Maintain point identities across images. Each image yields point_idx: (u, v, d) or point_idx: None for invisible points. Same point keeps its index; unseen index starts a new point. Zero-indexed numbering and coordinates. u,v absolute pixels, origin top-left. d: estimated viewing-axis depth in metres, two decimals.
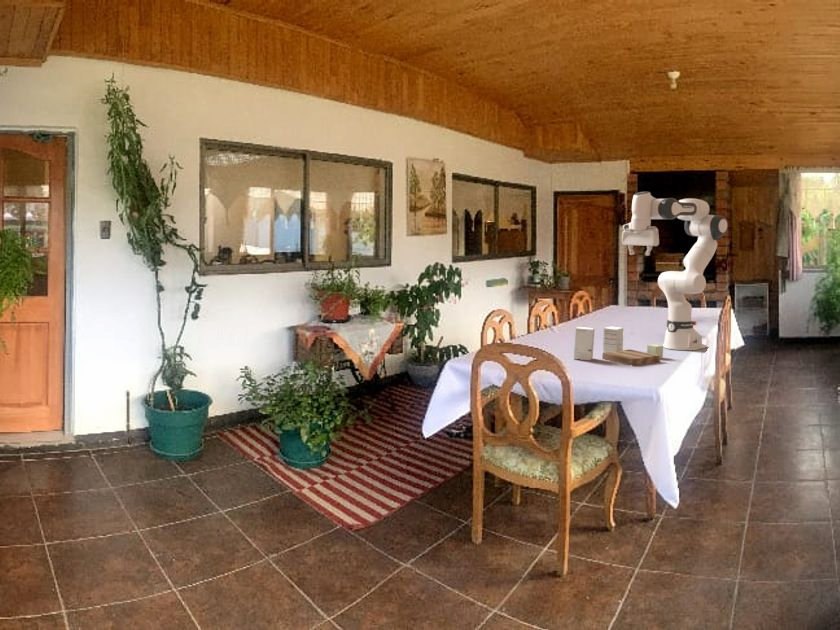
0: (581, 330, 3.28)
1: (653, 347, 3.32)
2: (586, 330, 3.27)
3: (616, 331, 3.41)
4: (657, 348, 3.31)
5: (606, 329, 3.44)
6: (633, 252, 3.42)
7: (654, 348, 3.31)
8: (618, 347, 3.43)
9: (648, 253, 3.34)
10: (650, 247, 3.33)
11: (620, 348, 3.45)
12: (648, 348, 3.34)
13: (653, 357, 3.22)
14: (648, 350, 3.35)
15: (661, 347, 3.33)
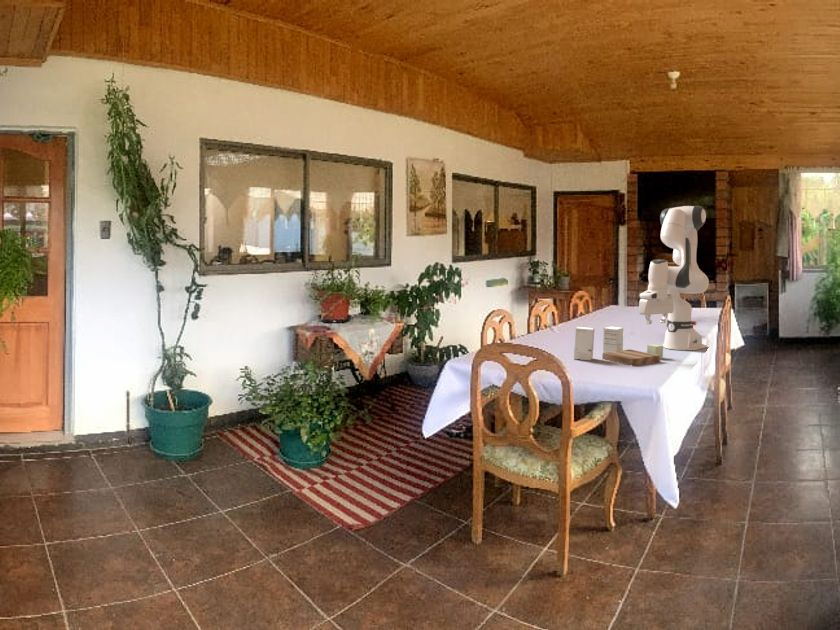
0: (581, 330, 3.28)
1: (653, 347, 3.32)
2: (586, 330, 3.27)
3: (616, 331, 3.41)
4: (657, 348, 3.31)
5: (606, 329, 3.44)
6: None
7: (654, 348, 3.31)
8: (618, 347, 3.43)
9: None
10: None
11: (620, 348, 3.45)
12: (648, 348, 3.34)
13: (653, 357, 3.22)
14: (648, 350, 3.35)
15: (661, 347, 3.33)
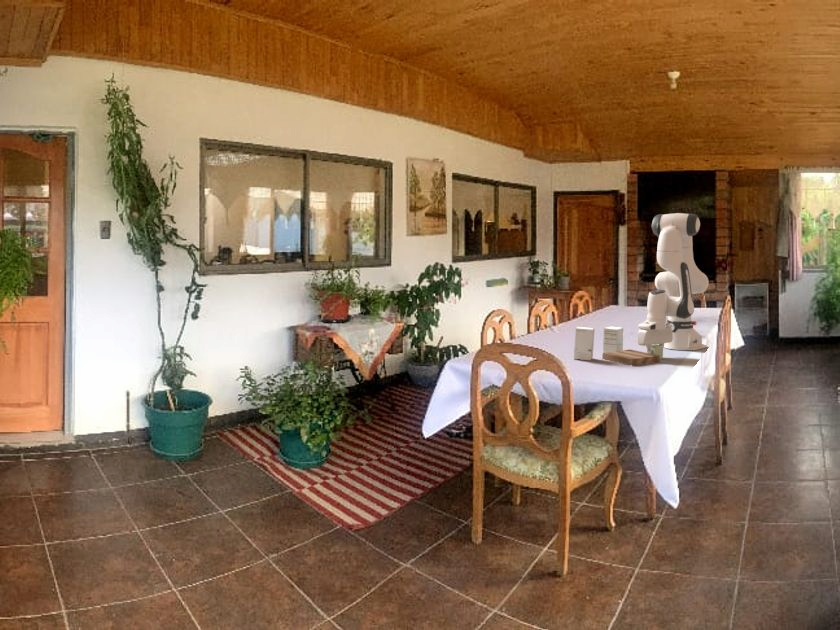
0: (581, 330, 3.28)
1: (653, 347, 3.32)
2: (586, 330, 3.27)
3: (616, 331, 3.41)
4: (657, 348, 3.31)
5: (606, 329, 3.44)
6: None
7: (654, 348, 3.31)
8: (618, 347, 3.43)
9: None
10: None
11: (620, 348, 3.45)
12: None
13: (653, 357, 3.22)
14: None
15: (661, 347, 3.33)
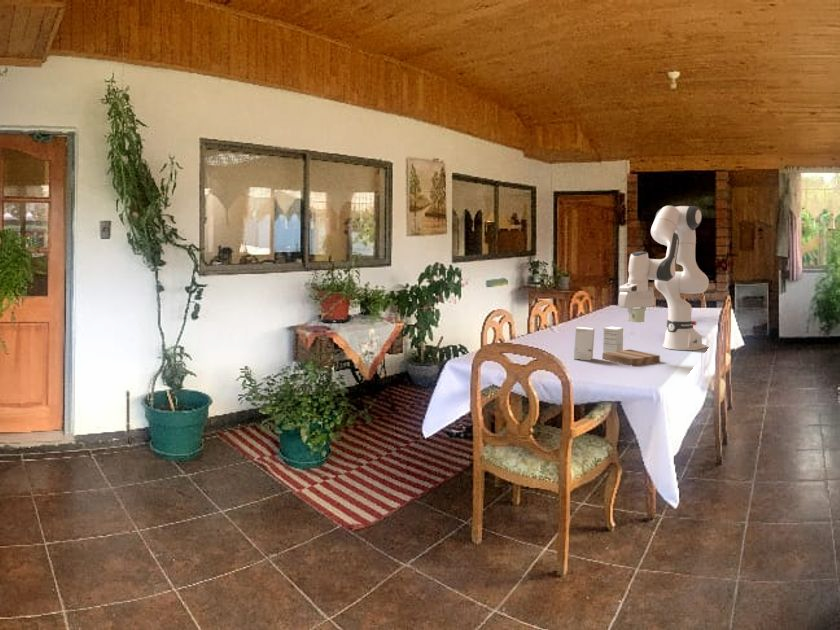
0: (581, 330, 3.28)
1: (634, 310, 3.23)
2: (586, 330, 3.27)
3: (616, 331, 3.41)
4: (638, 311, 3.23)
5: (606, 329, 3.44)
6: None
7: (635, 311, 3.23)
8: (618, 347, 3.43)
9: None
10: None
11: (620, 348, 3.45)
12: None
13: (653, 357, 3.22)
14: None
15: (643, 310, 3.24)
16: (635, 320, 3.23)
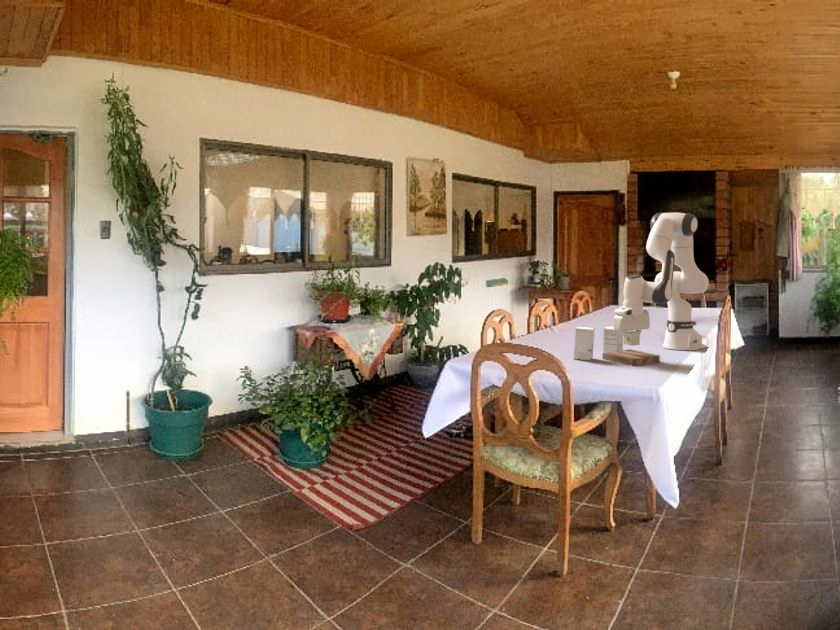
0: (581, 330, 3.28)
1: (629, 333, 3.24)
2: (586, 330, 3.27)
3: (616, 331, 3.41)
4: (634, 334, 3.23)
5: (606, 329, 3.44)
6: None
7: (630, 334, 3.23)
8: (618, 347, 3.43)
9: None
10: None
11: (620, 348, 3.45)
12: None
13: (653, 357, 3.22)
14: None
15: (638, 333, 3.25)
16: (630, 343, 3.24)
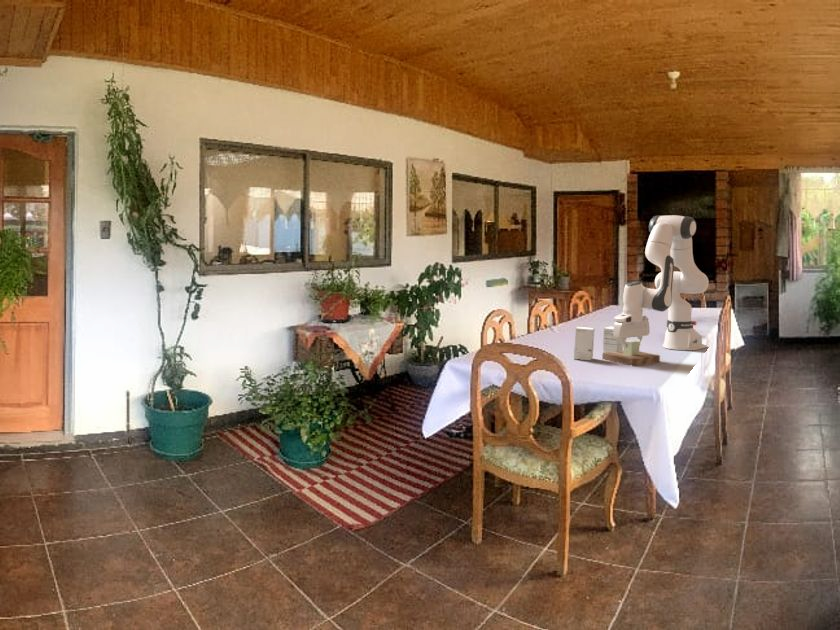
0: (581, 330, 3.28)
1: (629, 343, 3.25)
2: (586, 330, 3.27)
3: None
4: (633, 344, 3.24)
5: (606, 329, 3.44)
6: None
7: (630, 344, 3.24)
8: (618, 347, 3.43)
9: None
10: None
11: (620, 348, 3.45)
12: None
13: (653, 357, 3.22)
14: None
15: (637, 343, 3.25)
16: (630, 353, 3.25)
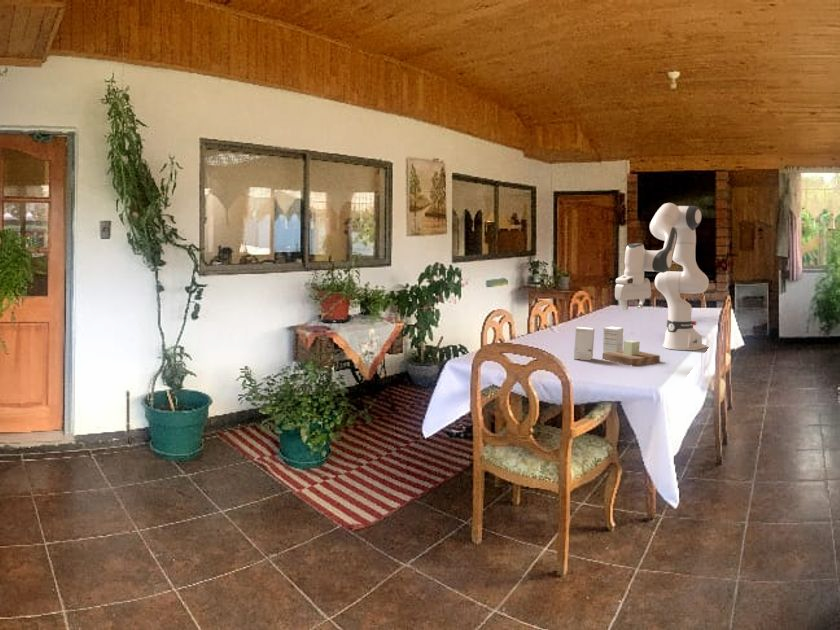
0: (581, 330, 3.28)
1: (629, 343, 3.25)
2: (586, 330, 3.27)
3: (616, 331, 3.41)
4: (633, 344, 3.24)
5: (606, 329, 3.44)
6: None
7: (630, 344, 3.24)
8: (618, 347, 3.43)
9: None
10: None
11: (620, 348, 3.45)
12: (624, 344, 3.27)
13: (653, 357, 3.22)
14: (624, 346, 3.27)
15: (637, 343, 3.25)
16: (630, 353, 3.25)
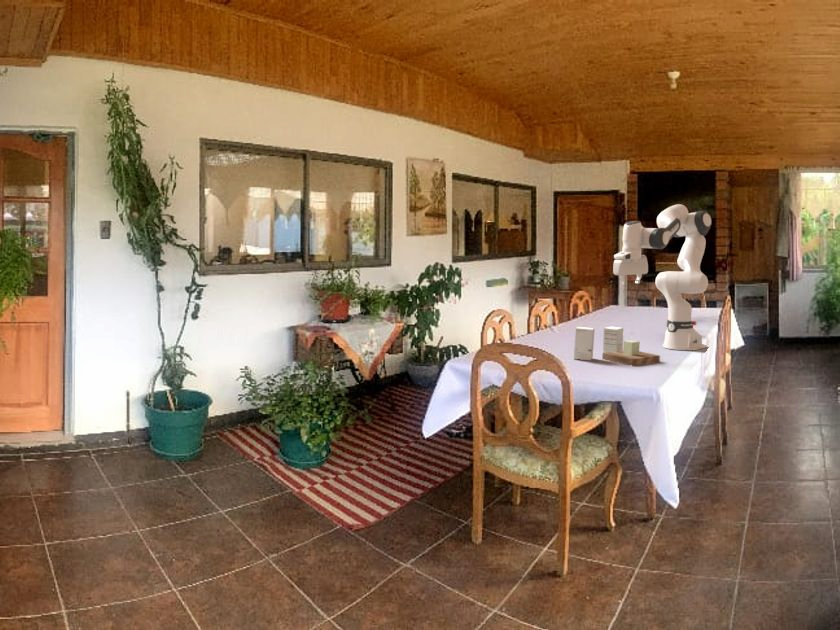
0: (581, 330, 3.28)
1: (629, 343, 3.25)
2: (586, 330, 3.27)
3: (616, 331, 3.41)
4: (633, 344, 3.24)
5: (606, 329, 3.44)
6: None
7: (630, 344, 3.24)
8: (618, 347, 3.43)
9: None
10: None
11: (620, 348, 3.45)
12: (624, 344, 3.27)
13: (653, 357, 3.22)
14: (624, 346, 3.27)
15: (637, 343, 3.25)
16: (630, 353, 3.25)
